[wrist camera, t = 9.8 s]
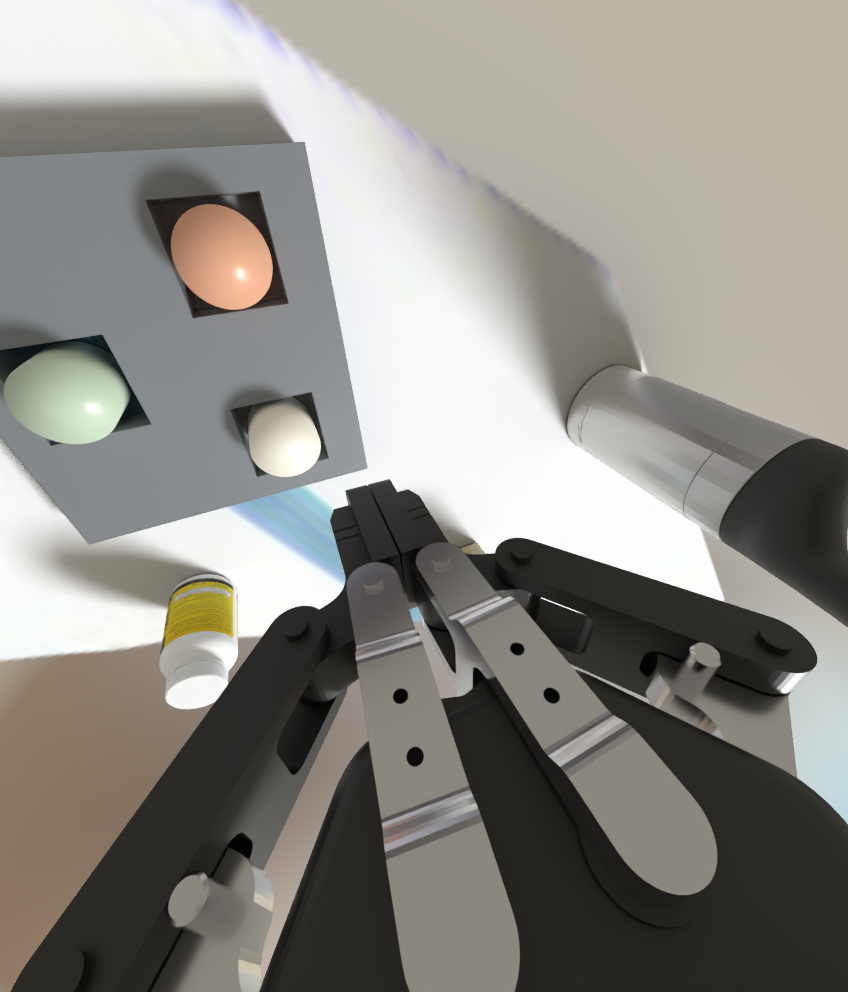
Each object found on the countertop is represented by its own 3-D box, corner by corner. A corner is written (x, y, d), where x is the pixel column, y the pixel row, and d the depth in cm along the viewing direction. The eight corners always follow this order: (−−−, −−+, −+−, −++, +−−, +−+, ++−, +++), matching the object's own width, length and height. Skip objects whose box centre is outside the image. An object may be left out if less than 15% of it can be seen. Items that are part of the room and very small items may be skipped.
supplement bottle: (158, 583, 33) (138, 687, 26) (226, 564, 35) (225, 657, 28) (184, 622, 37) (172, 724, 29) (245, 603, 38) (248, 696, 31)
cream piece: (303, 388, 29) (311, 408, 26) (318, 443, 32) (327, 467, 29) (237, 402, 28) (238, 425, 25) (259, 457, 30) (262, 484, 27)
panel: (298, 148, 22) (304, 142, 20) (360, 454, 34) (367, 468, 32) (-173, 173, 17) (-222, 167, 15) (98, 523, 29) (89, 544, 27)
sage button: (107, 334, 23) (88, 352, 20) (146, 407, 26) (135, 433, 23) (13, 349, 22) (-22, 370, 19) (65, 424, 24) (42, 453, 21)
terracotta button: (252, 202, 22) (256, 199, 19) (277, 292, 25) (283, 302, 22) (163, 209, 21) (152, 208, 18) (199, 303, 24) (195, 316, 21)
